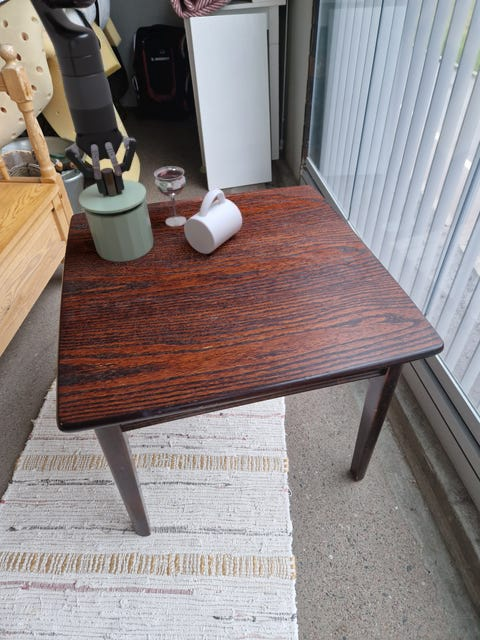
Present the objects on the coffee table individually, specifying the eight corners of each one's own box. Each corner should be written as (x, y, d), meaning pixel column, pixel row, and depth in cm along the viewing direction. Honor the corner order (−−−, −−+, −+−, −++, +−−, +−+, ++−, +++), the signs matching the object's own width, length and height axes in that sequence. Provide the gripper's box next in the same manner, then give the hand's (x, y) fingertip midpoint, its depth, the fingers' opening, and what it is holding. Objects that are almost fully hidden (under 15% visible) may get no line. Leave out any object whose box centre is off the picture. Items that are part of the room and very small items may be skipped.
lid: (83, 221, 80) (73, 191, 75) (77, 190, 89) (69, 162, 85) (152, 208, 83) (147, 178, 79) (140, 180, 92) (135, 152, 88)
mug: (185, 247, 93) (179, 197, 84) (214, 226, 99) (210, 177, 90) (215, 259, 89) (211, 208, 81) (243, 236, 95) (242, 187, 87)
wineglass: (157, 218, 102) (149, 170, 93) (183, 211, 104) (177, 163, 96) (168, 231, 97) (160, 182, 89) (194, 223, 100) (189, 175, 91)
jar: (100, 267, 88) (86, 223, 81) (94, 236, 96) (81, 194, 89) (158, 254, 91) (150, 210, 84) (147, 226, 99) (139, 184, 92)
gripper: (48, 112, 69) (78, 208, 81) (133, 101, 72) (150, 195, 84) (47, 99, 74) (75, 191, 86) (126, 89, 77) (143, 179, 89)
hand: (112, 192), depth 85 cm, fingers closed on lid, 2 cm apart
